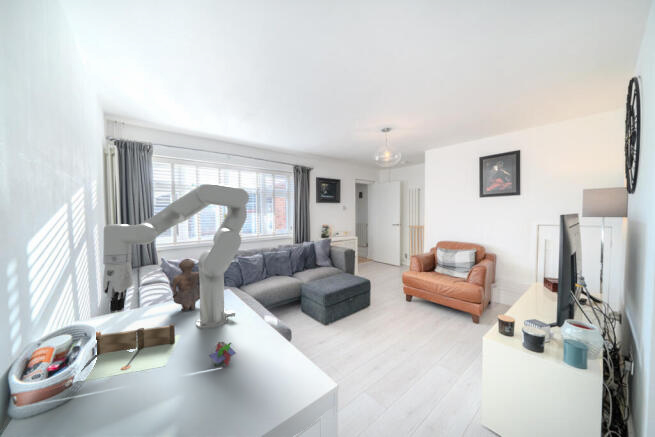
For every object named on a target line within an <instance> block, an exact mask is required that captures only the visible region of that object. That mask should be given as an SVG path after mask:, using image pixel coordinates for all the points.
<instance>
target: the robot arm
mask: <svg viewBox="0 0 655 437" xmlns="http://www.w3.org/2000/svg"><path fill="white" fill-rule="evenodd" d="M249 200H250V196H249V193H248V191H247V190H246V189H244V188H242V187H238V186H233V185H232V186H231V185H225V184H218V183H213V182H205V183H203V184H201V185H199V186H197V187H195V188H194V189H192V190H191V191H189V192H188V193H185V195H183V196H181V197H179V198H177V199H176V200H174V201H172V202H171V203H170V204H168V205H167V206H166V207H165V208H163V209H162V210H161V211H159V212H157V213H155V214H154V215H153V216H151V217H150V218H147V219H146V220H144V221H143V222H141V223H139V224H134V225H133V224H131V225H130V224H126V223H123V224H122V223H115V224H114V223H113V224H112V223H111V224H107V225H105V226H104V227H103V257H102V258H103V259H102V263H103V264H102V265H104V270H103V278H102V279H103V280H102V281H103V282H102V289H103V293H104V294H106V295H107V296H106V298H108V299H109V300H110V311H111V312H116V311H117V312H118V311H122V310H123V309H124V308H125V295H126V292H125V291H126V290H128V289H130V288H131V287H132V286H133V268H132V251H133V250H132V247H133V246H132V245H133V244H134V245H148V244H151V243H153V242H154V241H155V240H156V239H157V237H159V236H160V235H162V234H163V233H165V232H166V231H168V230H169V229H172V228H173V227H175V226H176V225H178V224H181V223H184V222H185V221H188V220H189V219H191V218H192V217H193V216H195V215H196V214H198V213H199V212H201V211H202V210H205V208H208V207H209V206H210V205H216V206H222V207H226V208H227V213H226V215H225V217H224V219H223V221H222V222H221V224H220V225H219V228H218V229H217V231H216V232H215V234H214V235H213V238H212V239H213V240H212V241H213V246H212V247H211V248H210V249H208V250H205V251H203V252H202V253H201V254H200V256H199V258H198V264H197V265H198V272H199V281H200V299H199V318H198V319H197V320H196V322H195V327H197V328H198V329H204V330H206V329H207V330H208V329H214V328H218V327H220V326H223V325H224V324H226V323H228V321H229V317H230V318H232V317H236V312H235V311H233V310H228V311H227V310H226V307H225V275H224V273H225V272H226V271H227V270H228V269H229V267H230V266H231V263H232V262H233V260H234V258H235V256H236V254H238V253H237V252H238V251H239V250H240V247H241V243H242V237H241V234H240V232H241V231H242V229H243V227H244V225H245V222H246V221H247V217H248V216H247V215H248V213H247V212H248V211H247V204H248V203H249Z"/></svg>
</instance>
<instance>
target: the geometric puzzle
mask: <svg viewBox="0 0 655 437" xmlns="http://www.w3.org/2000/svg"><path fill="white" fill-rule="evenodd" d="M231 345H232V342H230V341H229V342H228V343H227V342H224V341H220V342H219V341H218V342H217V343H216V345H215V351H214V352H211V354H209V355H208V356H209V358H210V359H211V360H212V361H213V362H214V366H215V367H216V366H217V365H220V363H222V362H223V363H224V364H225V365H223V364H222V367H225V366H226V367H229V366H230V365H229V364H230V360H231V357H233V356H235V355H236V354H237V353H236V351H235V349H234V348H232V346H231Z"/></svg>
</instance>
